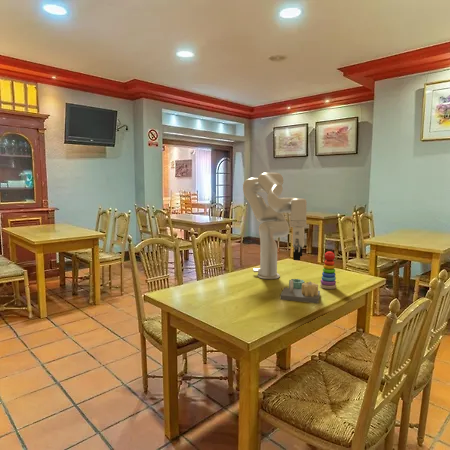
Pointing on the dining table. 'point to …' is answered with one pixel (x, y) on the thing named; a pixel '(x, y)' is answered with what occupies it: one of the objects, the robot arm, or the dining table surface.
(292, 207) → the robot arm
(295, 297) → the gear board
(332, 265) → the stacking toy
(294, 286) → the teal gear
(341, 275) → the dining table surface
